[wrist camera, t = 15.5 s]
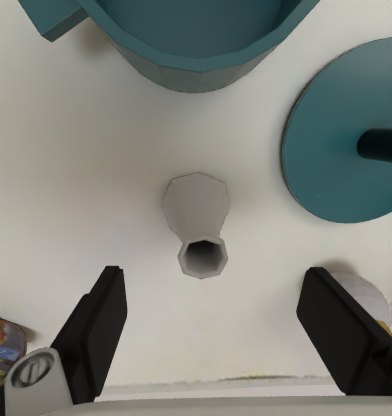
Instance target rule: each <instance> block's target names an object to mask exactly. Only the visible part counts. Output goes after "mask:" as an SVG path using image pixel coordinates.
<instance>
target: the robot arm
mask: <svg viewBox="0 0 392 416" xmlns="http://www.w3.org/2000/svg"><path fill="white" fill-rule="evenodd" d="M296 313H297V317H298V319H299V321H300V322H301V324H302V326H303V328H304V329H305V331H306V333H307V334H308V336H309V338H310V340H311V341H312V343H313V345H314V347H315V348H316V350H317V352H318V353H319V355H320V357H321V359H322V360H323V362H324V364H325V365H326V367H327V369H328V371H329V372H330V374H331V376H332V378H333V379H334V381H335V383H336V384H337V386H338V388H339V389H340V390H341V391H342V392H343V393H345V395H346V396H282V397H281V396H279V397H218V398H173V399H140V400H117V401H101V402H94V399H95V397H99V396H100V394H101V392H102V389H103V386H104V383H105V380H106V377H107V374H108V371H109V368H110V365H111V362H112V360H113V357H114V354H115V351H116V348H117V345H118V342H119V339H120V336H121V333H122V330H123V327H124V324H125V321H126V318H127V302H126V292H125V283H124V274H123V269H120V268H119V266H106V267H105V269H104V270H103V272H102V273H101V275H100V277H99V278H98V280H97V281H96V283H95V285H94V286H93V288H92V290H91V291H90V293H89V294H85V295H83V297H82V298H81V300H80V301H79V303H78V304H77V306H76V307H75V309H74V310H73V312H72V313H71V315H70V316H69V318H68V320H67V321H66V323H65V324H64V326H63V327H62V329H61V330H60V332H59V333H58V335H57V337H56V338H55V340H54V341H53V343H52V344H51V346H50V347H49V348H47V347H45V348H40V349H37V350H35V351H32V352H30V353H28V354H27V355H25V356H24V357H22V358H21V359H20V360H19V361H18V362H16V363H15V364H14V366H13V367H12V368H11V369H10V370H9V372H8V374H7V376H6V378H5V384H3V385H1V386H0V416H392V336H391V335H390V334H389V333H388V332H387V331H386V330H385V329H384V328H383V327H382V326H381V325H380V324H379V323H378V322H377V321H376V320H375V319H374V318H373V317H372V316H371V315H370V314H369V313H368V312H367V311H366V310H365V309H364V308H363V307H362V306H361V305H360V304H359V303H358V302H357V301H356V300H355V299H354V298H353V297H352V296H351V295H350V294H349V293H348V292H347V291H346V290H345V289H344V288H343V287H342V286H341V285H340V284H339V283H338V282H337V281H336V280H335V279H334V277H333V276H332V275H331V274H330V273H329V272H328V271H327V270H326V269H324V268H323V267H311V268H309V270H307V271H306V274H305V278H304V282H303V286H302V290H301V294H300V298H299V302H298V306H297V310H296Z"/></svg>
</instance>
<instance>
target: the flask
mask: <svg viewBox="0 0 392 416" xmlns="http://www.w3.org/2000/svg"><path fill="white" fill-rule="evenodd" d="M162 206H163V209H164V212H165V215H166V218H167V221H168V224H169V228H170V229H171V230H172V231H173V232H174V233H175V234H176V235H177V237H178V238H179V239H180V240H181V242H182V243H183V245H182V247H181V249H180V251H179V254H178V260H179V263H180V266H181V269H182V272H183V274H186V275H189V276H192V277H196V278H199V279H204V278H209V277H213V276H217V275H220V274H221V272H222V270H223V268H224V266H225V264H226V263H227V261H228V256H227V252H226V248H225V243H224V240H223V239H221V238H220V230H221V228H222V225H223V222H224V220H225V218H226V216H227V214H228V212H229V209H230V206H229V201H228V197H227V192H226V187H225V183H224V182H221V181H219V180H216V179H214V178H212V177H209V176H207V175H204V174H202V173H199V172H198V173H194V174H191V175H187V176H183V177H179V178H175V179H172V180H171V182H170V184H169V187H168V190H167V192H166V195H165V198H164V200H163V203H162Z"/></svg>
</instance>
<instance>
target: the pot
mask: <svg viewBox="0 0 392 416" xmlns="http://www.w3.org/2000/svg"><path fill="white" fill-rule="evenodd" d="M18 1H19V3H20V4H21V6H22V7H23V9H24V10H25V12H26V13H27V15H28V16H29V18H30V20H31V21H32V23H33V24H34V26H35V27H36V29H37V30H38V32H39V33H40V35H41V36H42V37H44V38H45V39H47V40H48V41H50V42H54V41H55V40H56V39H58V38H59V37H61V36H62V35H64V34H65V33H66V32H68V31H69V30H71V29H72V28H73V27H75V26H76V25H78V24H79V23H81V22H82V21H83V20H85V19H86V18H88V17H90V19H91V20H92V21H93V22H94V23H95V24H96V26H97V27H98V28H99V29H100V30H101V32H102V33H103V34H104V35H105V36H106V37H107V39H108V40H109V41H110V42H111V43H112V44H113V46H114V47H115V48H116V49H117V50H118V51H119V52H120V53H121V54H122V55H123V56H124V57H125V58H126V60H127V61H128V62H129V63H130V64H131V65H132V66H133V67H134V68H135V69H136V70H137V71H138V72H139V73H140V74H142V75H143V76H145V77H147V78H148V79H150V80H152V81H153V82H155V83H157V84H159V85H161V86H163V87H165V88H168V89H172V90H175V91H179V92H187V93H203V92H208V91H214V90H216V89H220V88H223V87H226V86H227V85H229V84H231V83H233V82H235V81H236V80H238V79H239V78H241V77H242V76H244V75H246V74H247V73H249V72H250V71H251V70H252V69H253V68H254V67H256V66H257V65H258V64H259V63H260V62H261V61H262V60H263V59H264V58H265V57H266V56H267V55H269V54H270V53H271V52H272V51H273V50H274V49H275V48H276V47H277V46H278V45H279V44H280V43H282V42H283V41H284V40H285V39H286V38H287V36H288V35H289V34H290V33H291V32H292V31H293V30H294V29H295V28H296V27H297V25H298V24H299V23H300V22H301V21H302V20H303V19H304V18H305V17H306V15H307V14H308V13H309V12H310V11H311V10H312V9H313V8H314V7H315V6H316V4H317V3H318V2H319V1H320V0H18Z"/></svg>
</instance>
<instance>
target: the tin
mask: <svg viewBox="0 0 392 416" xmlns="http://www.w3.org/2000/svg"><path fill="white" fill-rule="evenodd" d="M26 351H27V339H26V336H25V334H24V332H23V331H22V329H21V328H19V327H18V326H17V325H15V324H13V323H11V322H8V321H5V320H2V319H0V386H1V385H3V384H5V378H6V376H7V374H8V372H9V370H10V369H11V368H12V367H13V366H14V364H15V363H16V362H18V361H19V360H20V359H21V358H22V357H24V356H25V355H26Z"/></svg>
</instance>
